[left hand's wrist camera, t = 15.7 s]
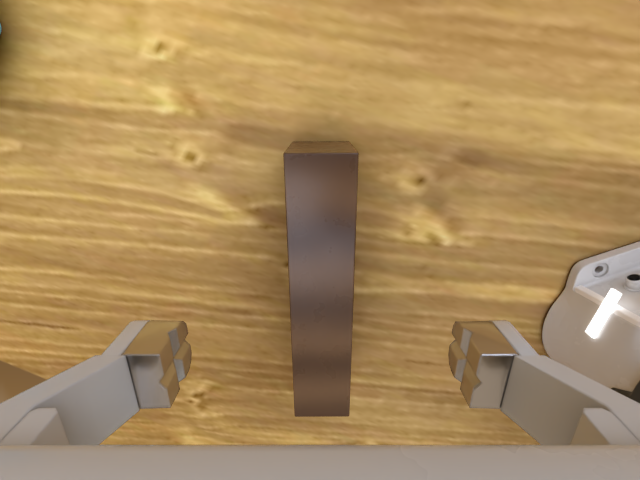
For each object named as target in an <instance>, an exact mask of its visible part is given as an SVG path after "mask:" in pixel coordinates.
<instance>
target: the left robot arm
mask: <svg viewBox="0 0 640 480" xmlns="http://www.w3.org/2000/svg"><path fill="white" fill-rule="evenodd" d="M596 267H597V268H596ZM595 268H596V269H595ZM187 334H188V330H187V325H186V323H185V322H184V321H154V320H151V321H149V320H135V321H132V322H130V323H129V324H128V325H127V326H126V328H125V329H124V330H123V331H122V332H121V333H120V334H119V335H118V337H117V338H116V339H115V340H114V341H113V342H112V343H111V344H110V346H109V347H108V348H107V349H106V350H105V351H104V352H103V353H102V355H95V356H93V357H91V358H89V359H87V360H85V361H83V362H81V363H79V364H77V365H75V366H73V367H71V368H69V369H67V370H65V371H63V372H61V373H59V374H58V375H56V376H54V377H52V378H50V379H48V380H46V381H44V382H42V383H40V384H38V385H36V386H34V387H32V388H30V389H28V390H26V391H24V392H22V393H20V394H18V395H16V396H14V397H12V398H10V399H8V400H6V401H4V402H2V403H0V480H640V241H639V242H636V243H633V244H630V245H627V246H624V247H620V248H617V249H614V250H611V251H608V252H605V253H602V254H599V255H596V256H593V257H590V258H587V259H584V260H581V261H579V262H577V263H576V264H575V265H574V266H573V268H572V269H571V272H570V274H569V277H568V280H567V284H566V287H565V289H564V291H563V292H562V293H561V295H560V296H559V297H558V299H557V300H556V301H555V302H554V304H553V305H552V307H551V308H550V310H549V312H548V314H547V316H546V318H545V321H544V325H543V330H542V340H543V345H544V348H545V350H546V352H547V354H548V355H549V357H550V358H549V357H547V356H545V355H538V353H537V352H536V351H535V350H534V349H533V348H532V347H531V346H530V344H529V343H528V342H527V341H526V340H525V339H524V338H523V337H522V335H521V334H520V333H519V332H518V331H517V330H516V329H515V328H514V326H513V325H512V324H511V323H510V322H508V321H506V320H495V321H459V322H455V323H454V325H453V329H452V334H453V336H454V338H455V340H454V341H453V342H452V343H451V344H450V347H449V365H450V368H451V371H452V373H453V375H454V377H455V378H456V379H457V380H459V381H460V382H461V388H460V390H461V392H462V394H463V396H464V398H465V400H466V402H467V404H468V406H469V408H494V409H501V411H502V412H503V413H504V414H506V415H507V416H508V417H509V418H510V419H512V420H513V421H514V422H515V423H516V424H517V425H519V426H520V427H521V428H522V429H523V430H525V431H526V432H527V433H528V434H529V435H530V436H532V437H533V438H534V439H535V440H536V441H538V442H539V443H540V444H541V445H99V444H100V443H101V442H103V441H104V440H105V439H106V438H107V437H108V436H110V435H111V434H112V433H113V432H114V431H116V430H117V429H118V428H119V427H120V426H122V425H123V424H124V423H125V422H126V421H127V420H129V419H130V418H131V417H132V416H133V415H135V414H136V413H137V412H138V411H139V409H145V408H171V406H172V404H173V402H174V400H175V398H176V396H177V394H178V392H179V390H180V388H179V382H180V381H181V380H183V379H184V378H185V377H186V375H187V373H188V371H189V368H190V363H191V347H190V344H189V343H188V342H187V341H186V340H185V338H186V336H187Z"/></svg>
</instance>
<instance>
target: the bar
mask: <svg viewBox="0 0 640 480" xmlns="http://www.w3.org/2000/svg"><path fill="white" fill-rule="evenodd" d="M284 176H285V199H286V222H287V246H288V269H289V292H290V316H291V339H292V362H293V386H294V409H295V416H349V407H350V379H351V351H352V323H353V294H354V266H355V238H356V210H357V182H358V152H357V151H356V150H355V148H354V147H353V146H352V145H351V143H350V142H349V141H342V142H292V143H291V145H290V146H289V147H288V149H287V150H286V151H285V153H284Z"/></svg>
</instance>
